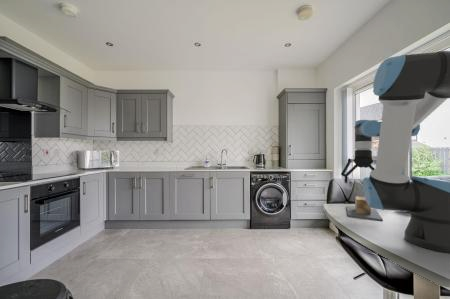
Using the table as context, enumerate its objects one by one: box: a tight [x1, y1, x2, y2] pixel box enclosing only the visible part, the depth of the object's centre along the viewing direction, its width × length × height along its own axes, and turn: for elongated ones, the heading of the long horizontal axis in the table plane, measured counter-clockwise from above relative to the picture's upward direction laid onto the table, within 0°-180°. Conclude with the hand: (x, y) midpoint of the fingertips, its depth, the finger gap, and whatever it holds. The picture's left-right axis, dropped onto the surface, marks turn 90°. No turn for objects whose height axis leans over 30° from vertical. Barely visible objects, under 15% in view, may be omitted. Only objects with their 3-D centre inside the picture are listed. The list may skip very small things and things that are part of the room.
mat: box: [345, 205, 384, 222], centre depth 111 cm, size 20×14×1 cm
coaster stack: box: [354, 195, 372, 215], centre depth 111 cm, size 6×9×7 cm, turn 152°
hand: (363, 190), depth 110 cm, fingers open, 13 cm apart
